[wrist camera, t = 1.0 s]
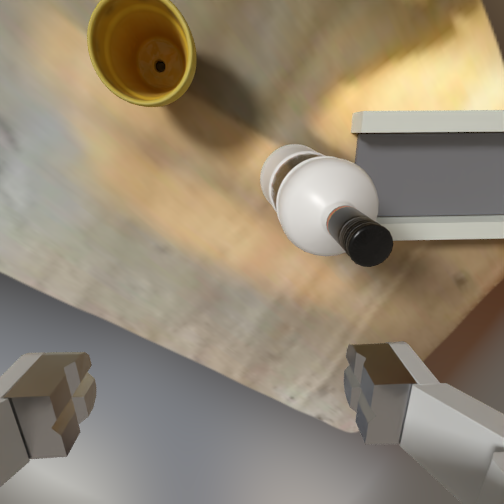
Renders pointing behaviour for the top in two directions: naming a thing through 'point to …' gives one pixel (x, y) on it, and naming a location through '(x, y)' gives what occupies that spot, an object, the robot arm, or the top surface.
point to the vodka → (325, 204)
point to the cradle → (435, 172)
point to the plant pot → (142, 50)
